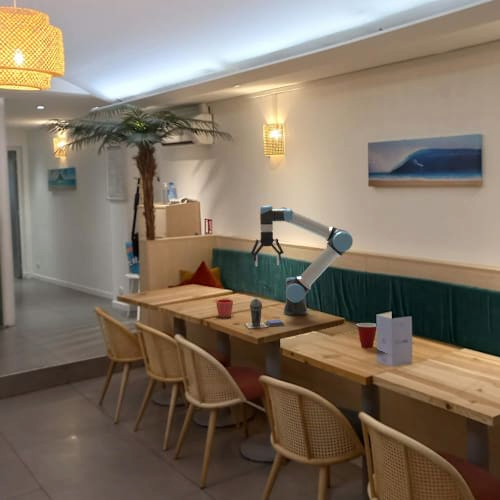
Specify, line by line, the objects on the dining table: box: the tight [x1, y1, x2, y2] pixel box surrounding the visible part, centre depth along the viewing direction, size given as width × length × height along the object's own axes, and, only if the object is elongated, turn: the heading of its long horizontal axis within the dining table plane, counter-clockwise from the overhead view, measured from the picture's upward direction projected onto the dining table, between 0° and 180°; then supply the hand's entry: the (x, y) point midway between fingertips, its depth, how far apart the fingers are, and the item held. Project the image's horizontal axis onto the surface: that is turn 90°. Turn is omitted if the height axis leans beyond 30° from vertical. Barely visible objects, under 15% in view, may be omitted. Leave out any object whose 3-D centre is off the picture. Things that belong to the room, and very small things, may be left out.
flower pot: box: [215, 299, 234, 318], centre depth 398 cm, size 11×11×10 cm
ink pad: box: [265, 319, 285, 328], centre depth 373 cm, size 9×9×2 cm
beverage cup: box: [249, 298, 263, 326], centre depth 369 cm, size 7×7×20 cm
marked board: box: [244, 322, 270, 330], centre depth 370 cm, size 12×12×1 cm
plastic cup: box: [356, 322, 377, 349], centre depth 322 cm, size 11×11×12 cm
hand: (267, 265), depth 388 cm, fingers open, 13 cm apart
